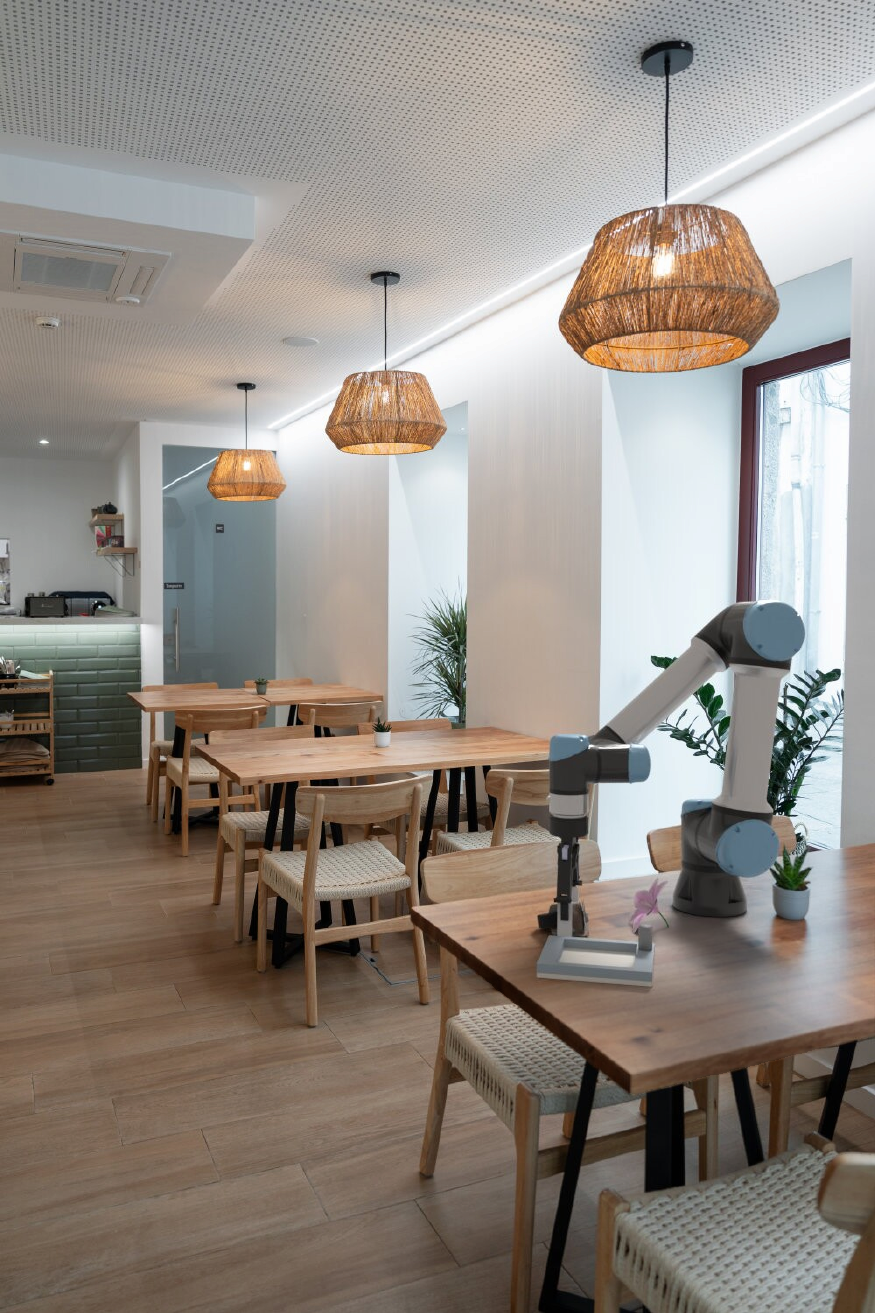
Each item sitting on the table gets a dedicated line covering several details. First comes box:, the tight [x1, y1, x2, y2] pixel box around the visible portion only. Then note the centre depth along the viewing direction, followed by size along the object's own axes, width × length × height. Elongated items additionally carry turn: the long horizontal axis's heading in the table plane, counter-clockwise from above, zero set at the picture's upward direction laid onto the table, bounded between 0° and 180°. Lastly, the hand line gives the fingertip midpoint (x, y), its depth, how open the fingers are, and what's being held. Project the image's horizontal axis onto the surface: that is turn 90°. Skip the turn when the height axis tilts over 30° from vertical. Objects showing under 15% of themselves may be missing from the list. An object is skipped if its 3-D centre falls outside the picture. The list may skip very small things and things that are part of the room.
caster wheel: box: [537, 898, 590, 938], centre depth 191 cm, size 7×11×10 cm
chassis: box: [536, 924, 656, 988], centre depth 172 cm, size 19×16×6 cm
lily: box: [627, 877, 670, 934], centre depth 195 cm, size 12×12×10 cm
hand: (568, 927), depth 191 cm, fingers closed on caster wheel, 11 cm apart
